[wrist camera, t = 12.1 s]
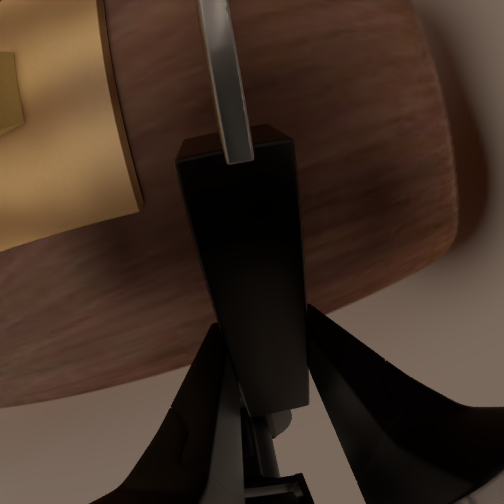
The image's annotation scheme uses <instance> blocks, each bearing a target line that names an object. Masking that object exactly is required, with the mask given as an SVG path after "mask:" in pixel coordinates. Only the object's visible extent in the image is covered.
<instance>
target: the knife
mask: <svg viewBox="0 0 504 504" xmlns="http://www.w3.org/2000/svg"><path fill="white" fill-rule="evenodd" d="M195 5H196V11H197V16H198V22H199V28H200V34H201V39H202V45H203V51H204V57H205V62H206V68H207V73H208V79H209V85H210V90H211V96H212V101H213V107H214V112H215V118H216V123H217V128H218V132H217V133H212V134H207V135H202V136H197V137H193V138H188V139H185V140H184V141H183V143H182V145H181V147H180V150H179V152H178V154H177V156H176V158H175V161H174V166H175V170H176V175H177V179H178V183H179V187H180V191H181V195H182V199H183V203H184V206H185V210H186V214H187V218H188V222H189V225H190V229H191V233H192V237H193V240H194V244H195V247H196V251H197V255H198V258H199V262H200V265H201V269H202V272H203V275H204V279H205V282H206V286H207V289H208V292H209V296H210V299H211V302H212V306H213V309H214V312H215V315H216V318H217V322H218V325H219V328H220V331H221V334H222V337H223V340H224V344H225V346H226V347H227V350H228V353H229V356H230V359H231V362H232V365H233V368H234V371H235V374H236V377H237V380H238V384H239V388H240V391H241V394H242V397H243V399H244V402H245V405H246V408H247V411H248V413H249V416H250V417H257V416H262V415H267V414H272V413H277V412H281V411H286V410H290V409H295V408H299V407H303V406H307V405H309V361H308V317H307V294H306V275H305V258H304V243H303V230H302V217H301V205H300V194H299V183H298V173H297V163H296V153H295V144H294V141H293V139H292V138H290V137H289V136H287V135H286V134H284V133H282V132H281V131H279V130H277V129H276V128H274V127H272V126H270V125H268V124H263V125H257V126H250V125H249V118H248V112H247V106H246V100H245V94H244V87H243V81H242V75H241V69H240V63H239V57H238V52H237V46H236V40H235V34H234V28H233V23H232V17H231V11H230V6H229V0H195Z"/></svg>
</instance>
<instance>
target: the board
mask: <svg viewBox="0 0 504 504" xmlns="http://www.w3.org/2000/svg"><path fill="white" fill-rule="evenodd" d="M0 51H2V52H13V53H14V60H15V69H16V77H17V84H18V90H19V96H20V102H21V107H22V112H23V117H24V123H23V124H21V125H19V126H17V127H16V128H14V129H12V130H10V131H8V132H7V133H5V134H3V135H1V136H0V252H1V251H4V250H7V249H10V248H13V247H16V246H19V245H22V244H25V243H29V242H32V241H35V240H38V239H42V238H45V237H48V236H52V235H55V234H58V233H62V232H65V231H69V230H72V229H76V228H79V227H83V226H87V225H90V224H94V223H98V222H102V221H105V220H109V219H113V218H117V217H121V216H125V215H129V214H133V213H137V212H140V210H141V208H142V206H143V204H144V201H143V198H142V195H141V191H140V187H139V184H138V180H137V176H136V173H135V169H134V165H133V161H132V157H131V153H130V149H129V145H128V141H127V137H126V132H125V128H124V123H123V119H122V114H121V110H120V105H119V100H118V95H117V90H116V85H115V79H114V74H113V68H112V62H111V56H110V49H109V43H108V35H107V28H106V20H105V11H104V2H103V0H2V1H1V2H0Z"/></svg>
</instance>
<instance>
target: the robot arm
mask: <svg viewBox="0 0 504 504" xmlns="http://www.w3.org/2000/svg"><path fill="white" fill-rule="evenodd" d="M307 317H308V361H309V370H310V373H311V375H312V378H313V380H314V382H315V385H316V387H317V390H318V392H319V394H320V397H321V399H322V401H323V404H324V406H325V408H326V411H327V413H328V415H329V418H330V420H331V422H332V425H333V427H334V429H335V431H336V434H337V436H338V439H339V441H340V443H341V446H342V448H343V450H344V453H345V455H346V457H347V460H348V462H349V464H350V467H351V469H352V471H353V474H354V476H355V479H356V480H357V484H358V486H359V488H360V491H361V493H362V495H363V497H364V500H365V502H366V504H504V407H470V406H465V405H462V404H459V403H457V402H455V401H453V400H451V399H449V398H447V397H445V396H444V395H442V394H440V393H438V392H436V391H434V390H433V389H431V388H429V387H427V386H425V385H424V384H422V383H420V382H418V381H417V380H415V379H413V378H412V377H410V376H408V375H406V374H405V373H404V372H402V371H401V370H400V369H398V368H397V367H395V366H394V365H392V364H391V363H390V362H388V361H385V359H384V358H383V357H381V356H380V355H379V354H377V353H376V352H374V351H373V350H372V349H370V348H369V347H367V346H366V345H365V344H364V343H362V342H361V341H359V340H358V339H357V338H355V337H354V336H353V335H351V334H350V333H349V332H347V331H346V330H344V329H343V328H342V327H340V326H339V325H338V324H336V323H335V322H334V321H332V320H331V319H329V318H328V317H327V316H326V315H324V314H323V313H321V312H320V311H319V310H317V309H316V308H315V307H313V306H312V305H311V304H307ZM275 437H276V432H275V428H274V423H273V418H272V414H267V415H262V416H257V417H250V416H249V413H248V411H247V408H246V407H245V408H240V394H239V384H238V380H237V377H236V374H235V371H234V368H233V365H232V362H231V359H230V356H229V353H228V350H227V347H226V346H225V344H224V340H223V337H222V334H221V331H220V328H219V325H218V322H217V323H213V324H212V325H211V326H210V328H209V330H208V332H207V335H206V337H205V339H204V341H203V343H202V345H201V347H200V349H199V351H198V353H197V355H196V357H195V359H194V361H193V363H192V365H191V367H190V369H189V371H188V373H187V375H186V377H185V379H184V381H183V383H182V385H181V387H180V389H179V391H178V393H177V395H176V397H175V399H174V401H173V403H172V405H171V408H170V409H169V411H168V413H167V415H166V417H165V419H164V421H163V423H162V424H161V426H160V428H159V430H158V432H157V433H156V435H155V436H154V438H153V440H152V441H151V443H150V444H149V446H148V447H147V449H146V450H145V452H144V454H143V455H142V456H141V458H140V459H139V461H138V462H137V464H136V465H135V467H134V468H133V470H132V471H131V473H130V474H129V476H128V477H127V478H126V479H125V481H124V482H123V483H122V484H121V485H120V486H119V487H118V488H116V489H115V490H114V491H112V492H110V493H108V494H107V495H105V496H103V497H101V498H99V499H97V500H95V501H93V502H91V503H89V504H314V501H313V499H312V496H311V494H310V491H309V489H308V486H307V484H306V481H305V479H304V476H303V474H302V473H299V474H295V475H292V476H286V477H280V474H279V469H278V464H277V460H276V455H275V450H274V446H273V441H272V439H274V438H275Z"/></svg>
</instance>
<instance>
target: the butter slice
mask: <svg viewBox="0 0 504 504" xmlns="http://www.w3.org/2000/svg"><path fill="white" fill-rule="evenodd" d="M23 123H24V117H23V112H22V107H21V102H20V96H19V90H18V84H17V77H16V69H15V60H14V53H13V52H2V51H0V136H1V135H3V134H5V133H7V132H8V131H10V130H12V129H14V128H16V127H17V126H19V125H21V124H23Z"/></svg>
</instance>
